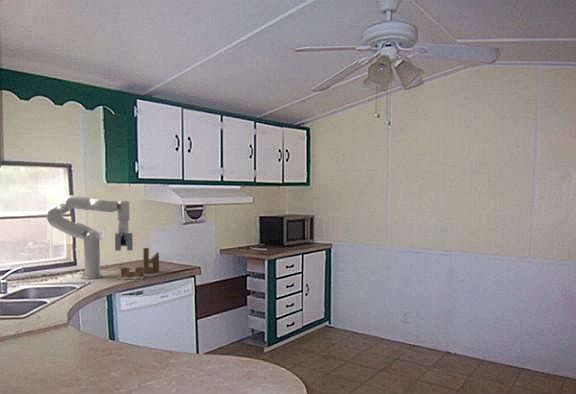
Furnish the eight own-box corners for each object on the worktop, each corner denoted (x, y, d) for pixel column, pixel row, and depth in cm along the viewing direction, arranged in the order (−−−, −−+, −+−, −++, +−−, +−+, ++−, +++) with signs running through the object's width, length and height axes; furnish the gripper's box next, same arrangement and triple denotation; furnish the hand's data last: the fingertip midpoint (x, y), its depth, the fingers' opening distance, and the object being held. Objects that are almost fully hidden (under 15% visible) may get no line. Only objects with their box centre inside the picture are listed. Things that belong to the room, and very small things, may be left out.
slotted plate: (131, 250, 292) (131, 233, 292) (115, 250, 291) (115, 233, 290) (132, 249, 295) (132, 232, 295) (116, 250, 294) (116, 233, 293)
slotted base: (117, 280, 277) (117, 269, 277) (122, 276, 288) (122, 266, 288) (142, 279, 279) (142, 268, 279) (146, 275, 290) (146, 265, 290)
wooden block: (159, 271, 303) (158, 247, 303) (144, 273, 297) (144, 248, 296) (157, 271, 306) (157, 246, 306) (142, 272, 300) (142, 248, 299)
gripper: (121, 217, 300) (121, 243, 300) (114, 219, 284) (114, 246, 284) (132, 217, 301) (132, 242, 301) (126, 219, 285) (126, 246, 285)
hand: (123, 244), depth 293 cm, fingers closed on slotted plate, 3 cm apart
